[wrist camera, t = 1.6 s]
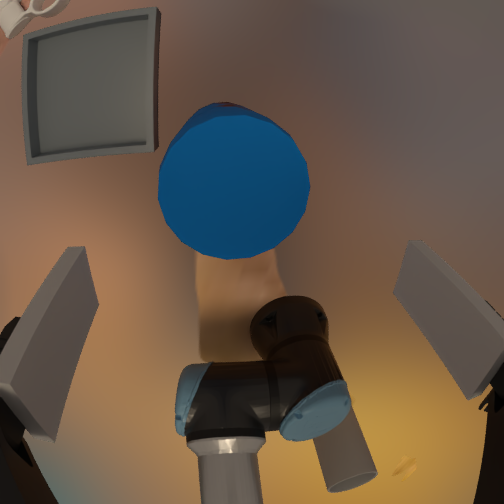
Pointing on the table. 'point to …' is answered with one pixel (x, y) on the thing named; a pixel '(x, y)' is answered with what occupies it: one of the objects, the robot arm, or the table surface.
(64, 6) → the white brass knuckles
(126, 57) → the tray
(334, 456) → the cylinder vase
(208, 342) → the table surface
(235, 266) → the table surface
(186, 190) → the thermos
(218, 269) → the table surface
